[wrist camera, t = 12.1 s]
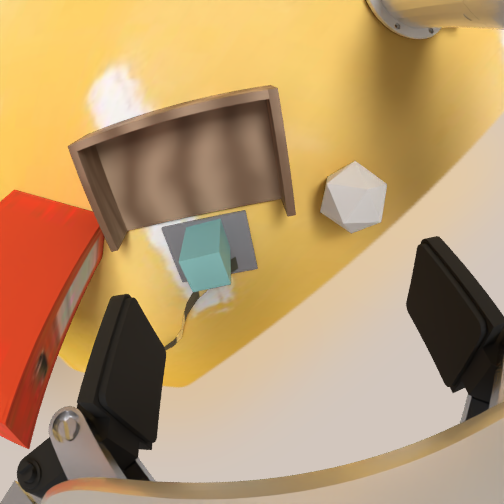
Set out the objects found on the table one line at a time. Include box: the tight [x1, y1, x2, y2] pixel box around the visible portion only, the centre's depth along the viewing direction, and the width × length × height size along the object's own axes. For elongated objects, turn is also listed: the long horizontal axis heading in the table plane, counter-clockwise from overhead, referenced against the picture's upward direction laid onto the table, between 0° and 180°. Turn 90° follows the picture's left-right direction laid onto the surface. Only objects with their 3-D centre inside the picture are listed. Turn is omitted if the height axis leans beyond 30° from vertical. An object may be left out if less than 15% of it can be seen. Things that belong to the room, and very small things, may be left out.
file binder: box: [0, 190, 104, 449], centre depth 27 cm, size 8×17×32 cm, turn 69°
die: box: [320, 161, 387, 233], centre depth 37 cm, size 8×9×10 cm
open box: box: [68, 85, 296, 252], centre depth 34 cm, size 24×15×6 cm, turn 100°
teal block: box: [179, 219, 231, 292], centre depth 40 cm, size 5×5×8 cm
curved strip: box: [164, 257, 238, 350], centre depth 52 cm, size 6×39×4 cm, turn 134°
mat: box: [162, 210, 258, 282], centre depth 44 cm, size 12×10×1 cm
